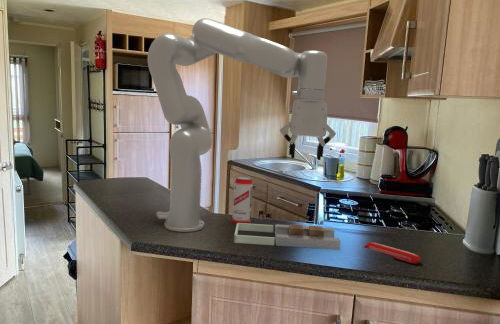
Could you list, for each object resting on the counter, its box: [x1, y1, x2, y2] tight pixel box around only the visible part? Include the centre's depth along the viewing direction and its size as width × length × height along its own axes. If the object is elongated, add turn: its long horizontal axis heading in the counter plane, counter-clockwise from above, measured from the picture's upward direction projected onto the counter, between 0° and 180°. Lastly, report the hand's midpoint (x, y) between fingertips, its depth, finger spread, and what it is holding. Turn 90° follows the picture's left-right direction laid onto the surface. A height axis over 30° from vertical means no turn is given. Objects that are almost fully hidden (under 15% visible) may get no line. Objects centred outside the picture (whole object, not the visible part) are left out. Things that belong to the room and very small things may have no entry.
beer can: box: [231, 175, 254, 225], centre depth 131 cm, size 6×6×16 cm
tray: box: [233, 223, 276, 246], centre depth 118 cm, size 12×12×3 cm
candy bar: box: [364, 242, 423, 264], centre depth 111 cm, size 16×4×3 cm, turn 50°
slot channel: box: [274, 223, 341, 251], centre depth 118 cm, size 18×12×4 cm, turn 88°
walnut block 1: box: [288, 223, 304, 236], centre depth 117 cm, size 4×4×4 cm
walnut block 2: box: [308, 225, 324, 237], centre depth 117 cm, size 4×4×4 cm
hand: (305, 158), depth 114 cm, fingers open, 6 cm apart
